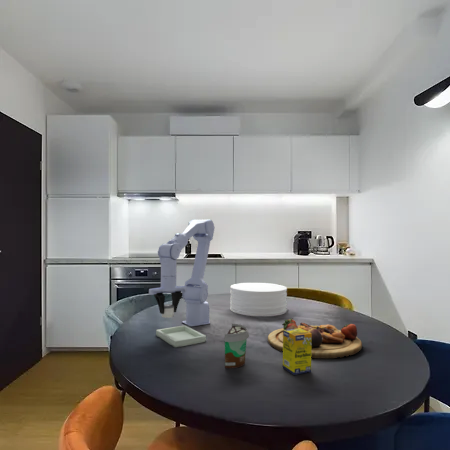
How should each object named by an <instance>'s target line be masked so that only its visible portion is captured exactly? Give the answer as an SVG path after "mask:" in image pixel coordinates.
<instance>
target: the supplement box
mask: <svg viewBox="0 0 450 450" xmlns="http://www.w3.org/2000/svg"><path fill="white" fill-rule="evenodd" d="M311 349H312V333H310V332H307V331H305V330H303V329H301V328H298V329H290V330H283V352H282V369H284V370H285V371H287V372H288V373H290V374H292V375H293V376H296V375H301V374H307V372H309V373H312V358H311Z"/></svg>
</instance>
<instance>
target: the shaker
mask: <svg viewBox="0 0 450 450" xmlns="http://www.w3.org/2000/svg"><path fill="white" fill-rule="evenodd" d="M174 317H175V312H174V305H172V304H164V314H161V318H164V319H169V318H170V319H171V318H174Z"/></svg>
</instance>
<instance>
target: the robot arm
mask: <svg viewBox="0 0 450 450" xmlns="http://www.w3.org/2000/svg"><path fill="white" fill-rule="evenodd" d="M214 233H215V224H214V221H213V220H212V219H193V218H192V219H190V221H189V222H188V224H187V226H186V228H185V229H184V230H183V231H182V232H181V233H180V232H179V233H178V232H177V233H174V236H172V238H171V239H169V240H168V241H167V242H166V243H162V244H161V245H160V246H159V247H158V251H157V255H158V258H159V264H160V287H153V288H149V289H148V295H151V296H153V295H154V298H155V301H156V303H157V305H158V309H159V314H161V315H162V314H164V305H165V302H166V301H165V300H166V295H164V294H171V301H172V302H171V303H172V304H171V305H174V313H177V310H178V306H179V303H180V301H181V299H183V300H184V303H185V320H183V321H181V322H182V323H183V324H184V325H186V326H188V327H197V326H202V325H210V324H211V321H210V305H209V302H208V301H207V299H208V297H209V296H208V295H209V292H208V291H209V284H208V283H206V281H205V280H204V279H205V272H206V266H207V261H208V256H209V250H210V245H211V242H212V241H213V238H214ZM192 237H193V239H194V240H195V241H197V246H196V253H195V258H194V262H193V268H192V273H191V277H189V278H188V280H186V281H185V283H184V285H177V269H178V268H177V264H178V263H177V262H178V261H177V259H179V257H180V256H181V252H182V250H183V249H184V248H185V247H186V246H187V245H188V243H189V239H191V238H192Z"/></svg>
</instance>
